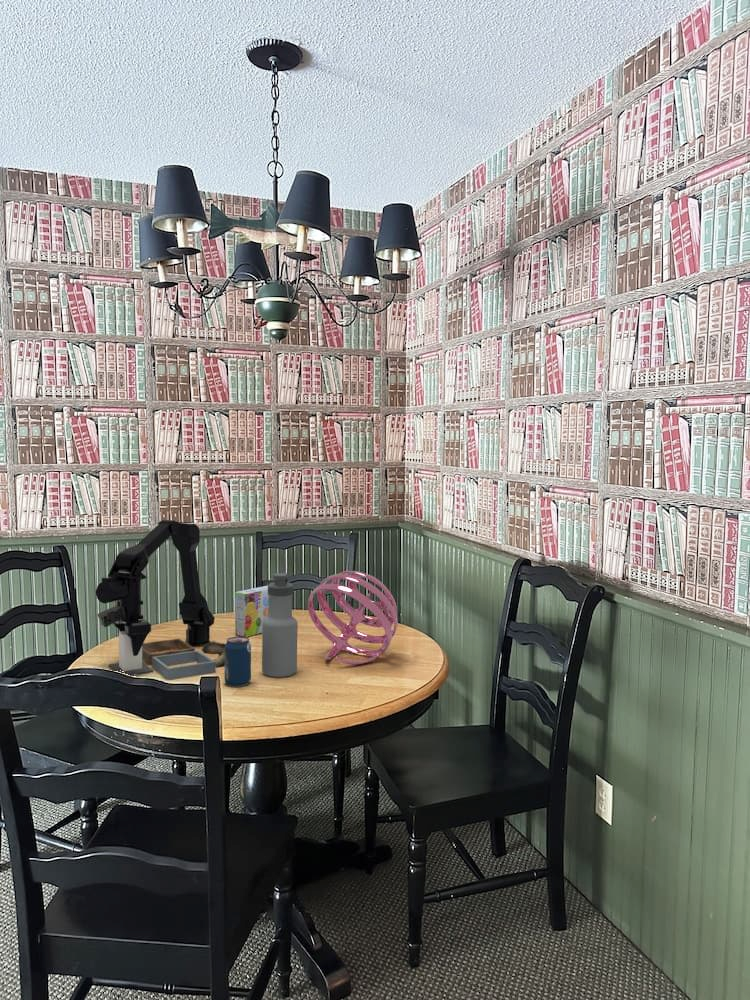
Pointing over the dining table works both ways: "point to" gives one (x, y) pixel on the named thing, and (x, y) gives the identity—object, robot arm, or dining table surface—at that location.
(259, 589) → the snack box
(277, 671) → the water bottle
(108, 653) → the dining table surface
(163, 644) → the frame
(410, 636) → the dining table surface
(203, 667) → the frame
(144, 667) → the dark grey flat slab
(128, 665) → the letter block
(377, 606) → the spiral basket
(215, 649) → the eagle figurine
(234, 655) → the soda can
